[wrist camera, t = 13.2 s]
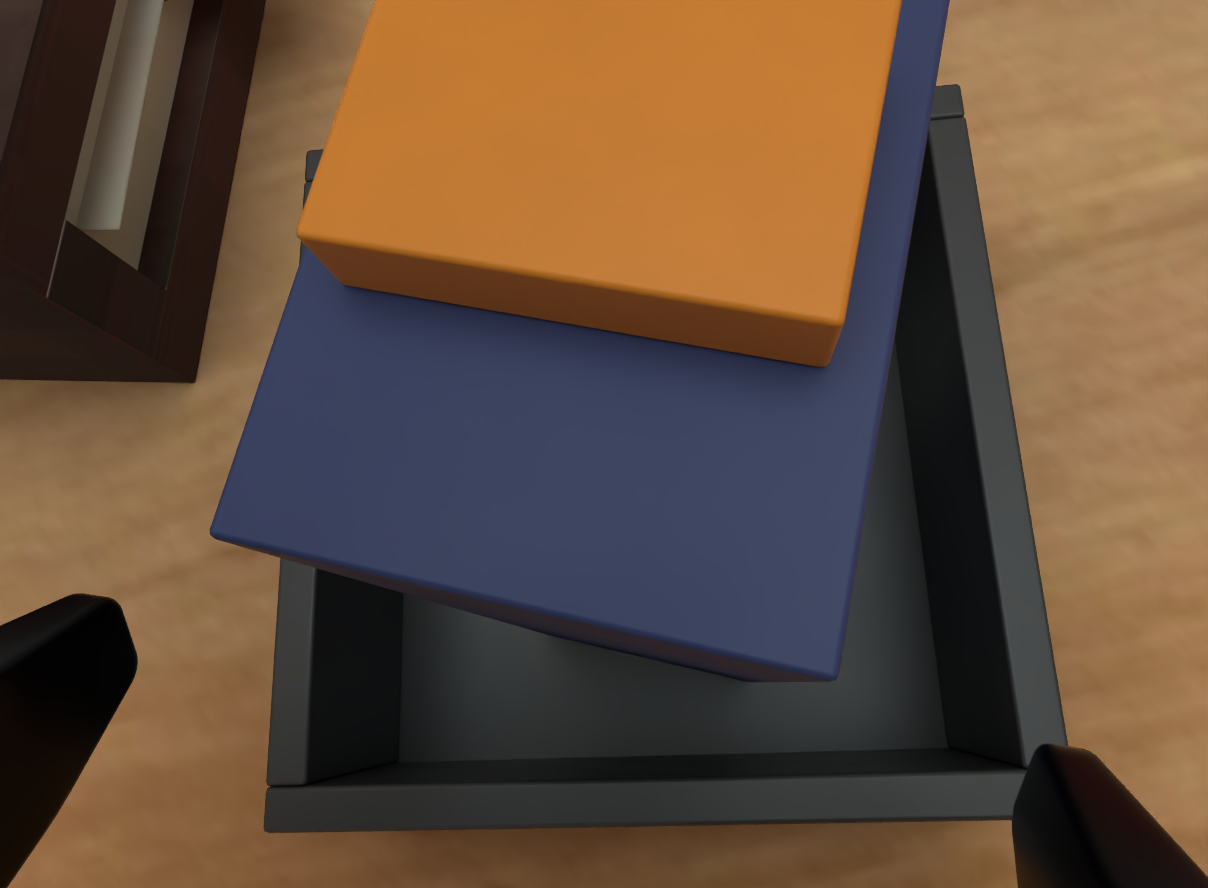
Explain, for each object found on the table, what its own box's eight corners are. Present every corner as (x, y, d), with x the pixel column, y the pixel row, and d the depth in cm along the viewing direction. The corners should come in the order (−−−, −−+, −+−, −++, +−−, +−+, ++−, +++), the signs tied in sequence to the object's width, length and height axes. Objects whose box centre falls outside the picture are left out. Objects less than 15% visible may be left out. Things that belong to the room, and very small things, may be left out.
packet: (752, 683, 18) (860, 683, 5) (544, 633, 19) (132, 513, 5) (805, 388, 19) (1006, -245, 6) (611, 354, 20) (416, -278, 7)
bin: (980, 781, 17) (1081, 819, 13) (376, 795, 19) (260, 833, 14) (903, 220, 21) (960, 81, 16) (393, 265, 22) (305, 149, 17)
